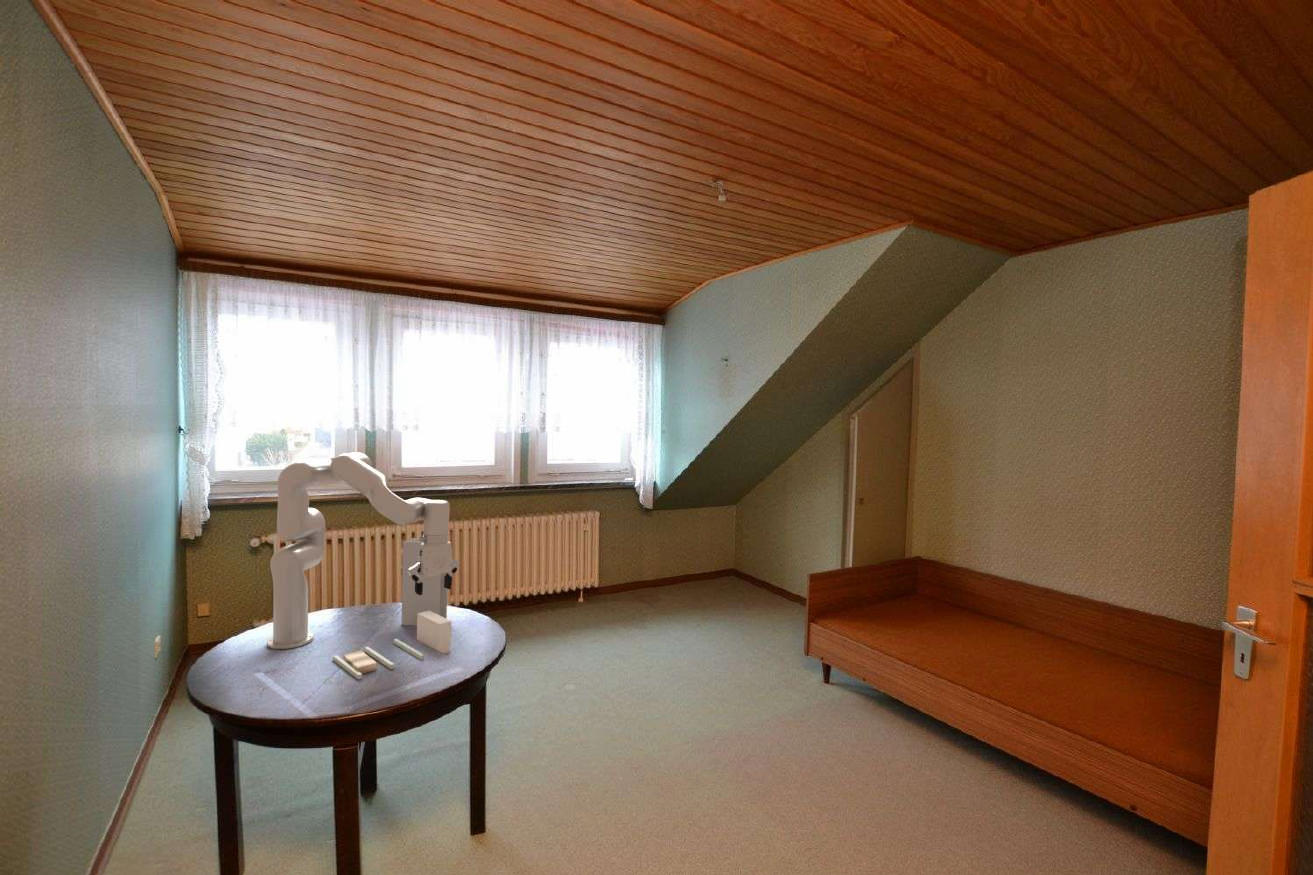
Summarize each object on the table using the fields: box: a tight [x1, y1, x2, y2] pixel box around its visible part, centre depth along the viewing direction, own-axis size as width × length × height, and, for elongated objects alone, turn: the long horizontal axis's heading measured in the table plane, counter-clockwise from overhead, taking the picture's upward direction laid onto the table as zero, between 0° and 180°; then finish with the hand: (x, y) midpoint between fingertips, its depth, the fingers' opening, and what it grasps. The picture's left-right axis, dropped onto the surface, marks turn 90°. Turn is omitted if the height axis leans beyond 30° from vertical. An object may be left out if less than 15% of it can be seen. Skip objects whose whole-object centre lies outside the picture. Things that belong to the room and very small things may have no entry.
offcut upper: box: [342, 650, 378, 675], centre depth 166 cm, size 12×5×2 cm, turn 47°
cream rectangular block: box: [416, 611, 452, 654], centre depth 184 cm, size 14×4×10 cm, turn 50°
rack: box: [332, 638, 425, 680], centre depth 170 cm, size 18×19×2 cm
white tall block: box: [400, 537, 448, 627], centre depth 204 cm, size 14×6×30 cm, turn 84°
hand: (433, 591), depth 183 cm, fingers open, 9 cm apart
